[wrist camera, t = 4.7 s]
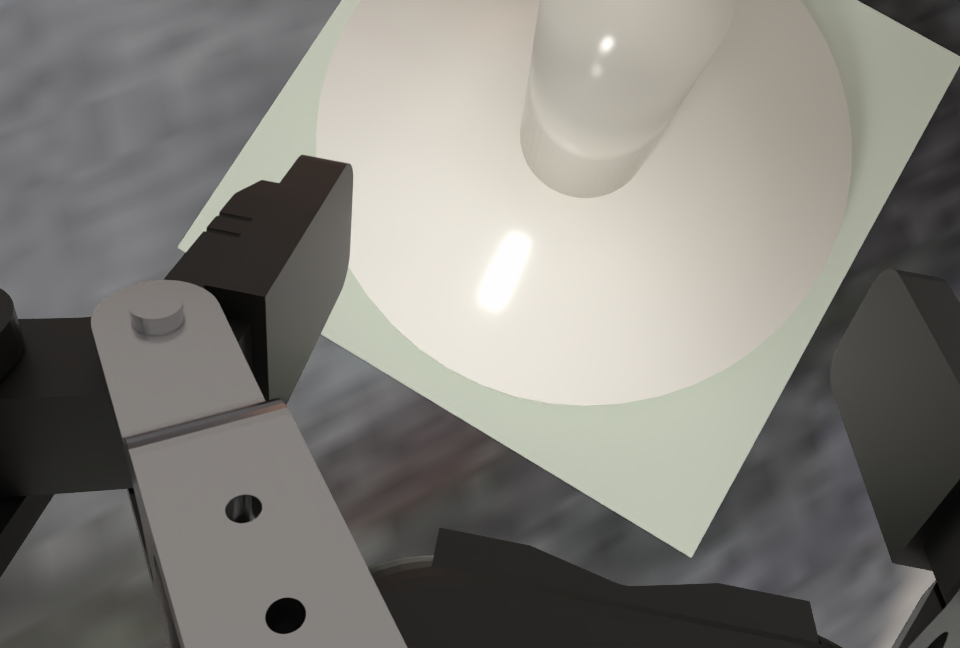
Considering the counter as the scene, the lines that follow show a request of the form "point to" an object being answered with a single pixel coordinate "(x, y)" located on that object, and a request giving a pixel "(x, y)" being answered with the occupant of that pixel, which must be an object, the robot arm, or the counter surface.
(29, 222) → the counter surface
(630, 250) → the lid
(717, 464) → the mat
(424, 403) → the counter surface
